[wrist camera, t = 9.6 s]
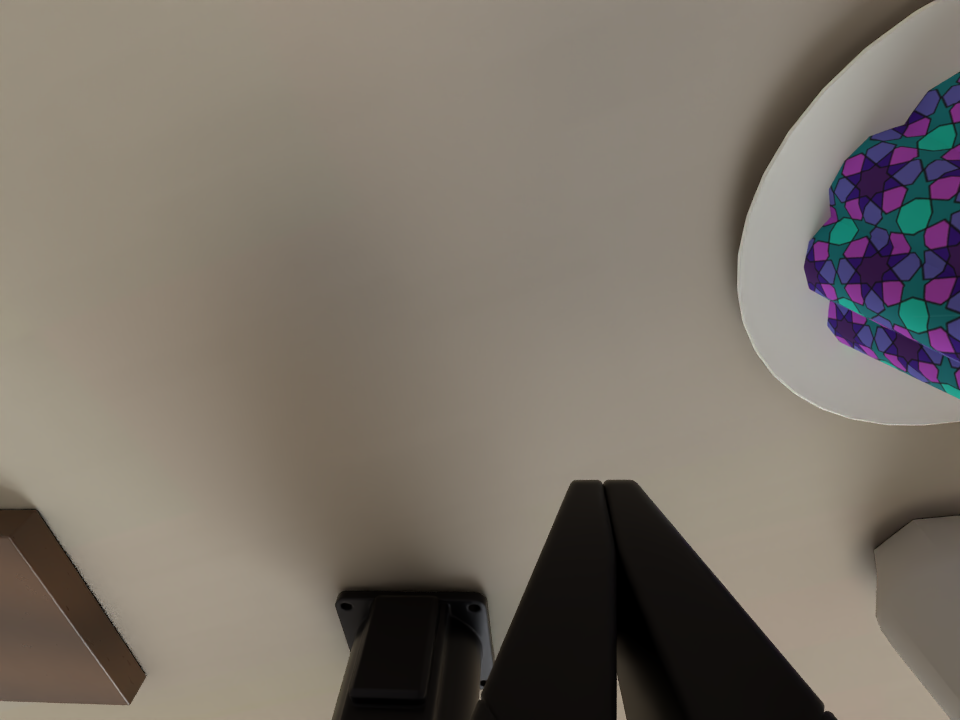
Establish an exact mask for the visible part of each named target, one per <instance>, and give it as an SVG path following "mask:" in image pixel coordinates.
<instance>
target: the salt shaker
mask: <svg viewBox="0 0 960 720" xmlns="http://www.w3.org/2000/svg"><path fill="white" fill-rule="evenodd" d="M874 554H875V562H876V570H877V590H876V618H877V621H878V623H879V626H880V628H881V631H882V632H883V633H884V635H885V636H886V638H887V639H888V641H889V642H890V644H891V645H892V646H893V648H894V649H895V651H896V652H897V653H898V654H899V656H900V657H901V658H902V659H903V661H904V662H905V663H906V664H907V666H908V667H909V668H910V669H911V671H912V672H913V673H914V674H915V675H916V677H917V678H918V679H919V680H920V682H921V683H922V684H923V685H924V687H925V688H926V689H927V690H928V692H929V693H930V694H931V695H932V697H933V698H934V699H935V700H936V702H937V703H938V704H939V705H940V707H941V708H942V709H943V710H944V712H945V713H946V714H947V715H948V717H949V718H950V719H951V720H960V515H959V516H948V517H938V518H928V519H917V520H912V521H911V522H910V523H908V524H907V525H906V526H905V527H903V528H902V529H901V530H899V531H898V532H897V533H895V534H894V535H893V536H892V537H890V538H889V539H888V540H886V541H885V542H884V543H883V544H881V545H880V546H879V547H877V548H876V549H875V550H874Z"/></svg>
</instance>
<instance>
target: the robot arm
mask: <svg viewBox="0 0 960 720" xmlns="http://www.w3.org/2000/svg"><path fill="white" fill-rule="evenodd" d="M335 607H336V610H337V613H338V616H339V619H340V622H341V625H342V628H343V631H344V634H345V637H346V640H347V643H348V646H349V649H350V652H351V653H350V657H349V660H348V664H347V667H346V671H345V674H344V678H343V682H342V685H341V689H340V692H339V696H338V699H337V703H336V706H335V710H334V714H333V717H332V720H617V676H618V681H619V686H620V690H621V695H622V700H623V704H624V709H625V714H626V719H627V720H837V718H836V717H835V716H834V715H833V714H832V713H831V712H829V711H825V712H824V704H823V702H822V701H821V700H820V699H819V698H818V696H817V695H816V694H815V693H814V692H813V691H812V689H811V688H810V687H809V686H808V685H807V683H806V682H805V681H804V680H803V679H802V678H801V676H800V675H799V674H798V673H797V672H796V670H795V669H794V668H793V667H792V666H791V664H790V663H789V662H788V661H787V660H786V659H785V657H784V656H783V655H782V654H781V653H780V651H779V650H778V649H777V648H776V647H775V646H774V644H773V643H772V642H771V641H770V640H769V638H768V637H767V636H766V635H765V634H764V633H763V631H762V630H761V629H760V628H759V627H758V625H757V624H756V623H755V622H754V621H753V620H752V618H751V617H750V616H749V615H748V614H747V612H746V611H745V610H744V609H743V608H742V607H741V605H740V604H739V603H738V602H737V601H736V599H735V598H734V597H733V596H732V595H731V594H730V592H729V591H728V590H727V589H726V588H725V586H724V585H723V584H722V583H721V582H720V581H719V579H718V578H717V577H716V576H715V575H714V573H713V572H712V571H711V570H710V569H709V568H708V566H707V565H706V564H705V563H704V562H703V560H702V559H701V558H700V557H699V556H698V555H697V553H696V552H695V551H694V550H693V549H692V547H691V546H690V545H689V544H688V543H687V542H686V540H685V539H684V538H683V537H682V536H681V534H680V533H679V532H678V531H677V530H676V529H675V527H674V526H673V525H672V524H671V523H670V521H669V520H668V519H667V518H666V517H665V516H664V514H663V513H662V512H661V511H660V510H659V508H658V507H657V506H656V505H655V504H654V503H653V501H652V500H651V499H650V498H649V497H648V495H647V494H646V493H645V492H644V491H643V490H642V488H641V487H640V486H639V485H638V484H637V483H636V482H635V481H633V480H606V481H605V482H604V484H602V482H601V481H599V480H574V481H573V482H572V483H571V484H570V486H569V488H568V490H567V493H566V495H565V497H564V500H563V502H562V505H561V507H560V509H559V512H558V514H557V516H556V519H555V521H554V523H553V526H552V528H551V530H550V533H549V535H548V538H547V540H546V542H545V545H544V547H543V549H542V552H541V554H540V556H539V559H538V561H537V563H536V566H535V568H534V571H533V573H532V575H531V578H530V580H529V582H528V585H527V587H526V589H525V592H524V594H523V596H522V599H521V601H520V604H519V606H518V608H517V611H516V613H515V615H514V618H513V620H512V622H511V625H510V627H509V629H508V632H507V634H506V637H505V639H504V641H503V644H502V646H501V648H500V651H499V653H498V655H497V658H496V660H495V662H494V654H493V646H492V637H491V629H490V621H489V612H488V604H487V599H486V597H485V596H484V595H483V594H480V593H476V592H400V591H343V592H341V593H339V595H338V597H337V600H336V603H335ZM480 689H483V691H482V693H481V699H482V700H479V690H480Z"/></svg>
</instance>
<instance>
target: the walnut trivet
mask: <svg viewBox="0 0 960 720" xmlns="http://www.w3.org/2000/svg"><path fill="white" fill-rule="evenodd" d="M145 678H146V675H145V674H144V672H143V671H142V669H141V668H140V666H139V665H138V663H137V662H136V660H135V659H134V657H133V656H132V654H131V653H130V651H129V649H128V648H127V646H126V645H125V643H124V642H123V640H122V639H121V637H120V636H119V634H118V633H117V631H116V630H115V628H114V627H113V625H112V624H111V622H110V621H109V619H108V618H107V616H106V615H105V613H104V612H103V610H102V609H101V607H100V606H99V604H98V603H97V601H96V600H95V598H94V596H93V595H92V593H91V592H90V590H89V589H88V587H87V586H86V584H85V583H84V581H83V580H82V578H81V577H80V575H79V574H78V572H77V571H76V569H75V568H74V566H73V565H72V563H71V562H70V560H69V559H68V557H67V556H66V554H65V553H64V551H63V550H62V548H61V547H60V545H59V544H58V542H57V540H56V539H55V537H54V536H53V534H52V533H51V531H50V530H49V528H48V527H47V525H46V524H45V522H44V521H43V519H42V518H41V516H40V515H39V513H38V512H37V511H36V510H0V701H18V702H48V703H78V704H108V705H130V704H131V702H132V701H133V699H134V697H135V695H136V694H137V692H138V690H139V688H140V687H141V685H142V683H143V682H144V680H145Z"/></svg>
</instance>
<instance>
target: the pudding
mask: <svg viewBox="0 0 960 720" xmlns="http://www.w3.org/2000/svg"><path fill="white" fill-rule="evenodd" d="M737 293H738V299H739V304H740V310H741V316H742V321H743V324H744V327H745V329H746V331H747V334H748V336H749V338H750V341H751V343H752V345H753V348H754V350H755V352H756V353H757V354H758V356H759V357H760V359H761V360H762V361H763V363H764V364H765V365H766V367H767V368H768V370H769V371H770V372H771V374H772V375H773V376H774V377H776V378H777V379H778V380H779V381H780V382H781V383H782V384H784V385H785V386H786V387H787V388H788V389H789V390H790V391H792V392H793V393H794V394H795V395H797V396H799V397H801V398H802V399H804V400H806V401H808V402H809V403H811V404H813V405H815V406H817V407H818V408H820V409H823V410H826V411H828V412H831V413H834V414H837V415H840V416H843V417H846V418H849V419H853V420H859V421H865V422H870V423H876V424H882V425H909V426H923V425H933V424H943V423H953V422H960V0H934V1H933V2H931V3H929V4H927V5H925V6H924V7H922V8H920V9H918V10H916V11H915V12H913V13H912V14H911V15H909V16H908V17H906V18H905V19H904V20H902V21H901V22H900V23H898V24H897V25H896V26H894V27H893V28H892V29H890V30H889V31H888V32H886V33H885V34H883V35H882V36H881V37H879V38H878V39H877V40H875V41H874V42H873V43H871V44H870V45H869V46H867V47H866V48H865V49H864V50H863V51H862V52H861V53H859V54H858V55H857V56H856V57H855V58H854V59H853V60H852V61H851V62H850V63H849V64H848V65H847V66H846V67H845V68H844V69H843V70H842V71H841V72H840V73H839V74H838V75H837V76H836V77H834V78H833V79H832V80H831V81H830V82H829V83H828V84H827V85H826V86H825V87H824V88H823V89H822V90H821V92H820V93H819V94H818V95H817V97H816V98H815V99H814V100H813V102H812V103H811V104H810V105H809V107H808V108H807V109H806V110H805V112H804V113H803V114H802V115H801V117H800V118H799V119H798V120H797V122H796V123H795V124H794V125H793V127H792V128H791V129H790V130H789V132H788V133H787V135H786V137H785V138H784V140H783V142H782V143H781V145H780V147H779V149H778V150H777V152H776V154H775V155H774V157H773V159H772V160H771V162H770V164H769V165H768V167H767V169H766V170H765V172H764V174H763V176H762V179H761V181H760V184H759V186H758V188H757V191H756V193H755V196H754V198H753V201H752V203H751V206H750V208H749V211H748V213H747V216H746V220H745V225H744V229H743V234H742V239H741V243H740V248H739V252H738V272H737Z"/></svg>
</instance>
